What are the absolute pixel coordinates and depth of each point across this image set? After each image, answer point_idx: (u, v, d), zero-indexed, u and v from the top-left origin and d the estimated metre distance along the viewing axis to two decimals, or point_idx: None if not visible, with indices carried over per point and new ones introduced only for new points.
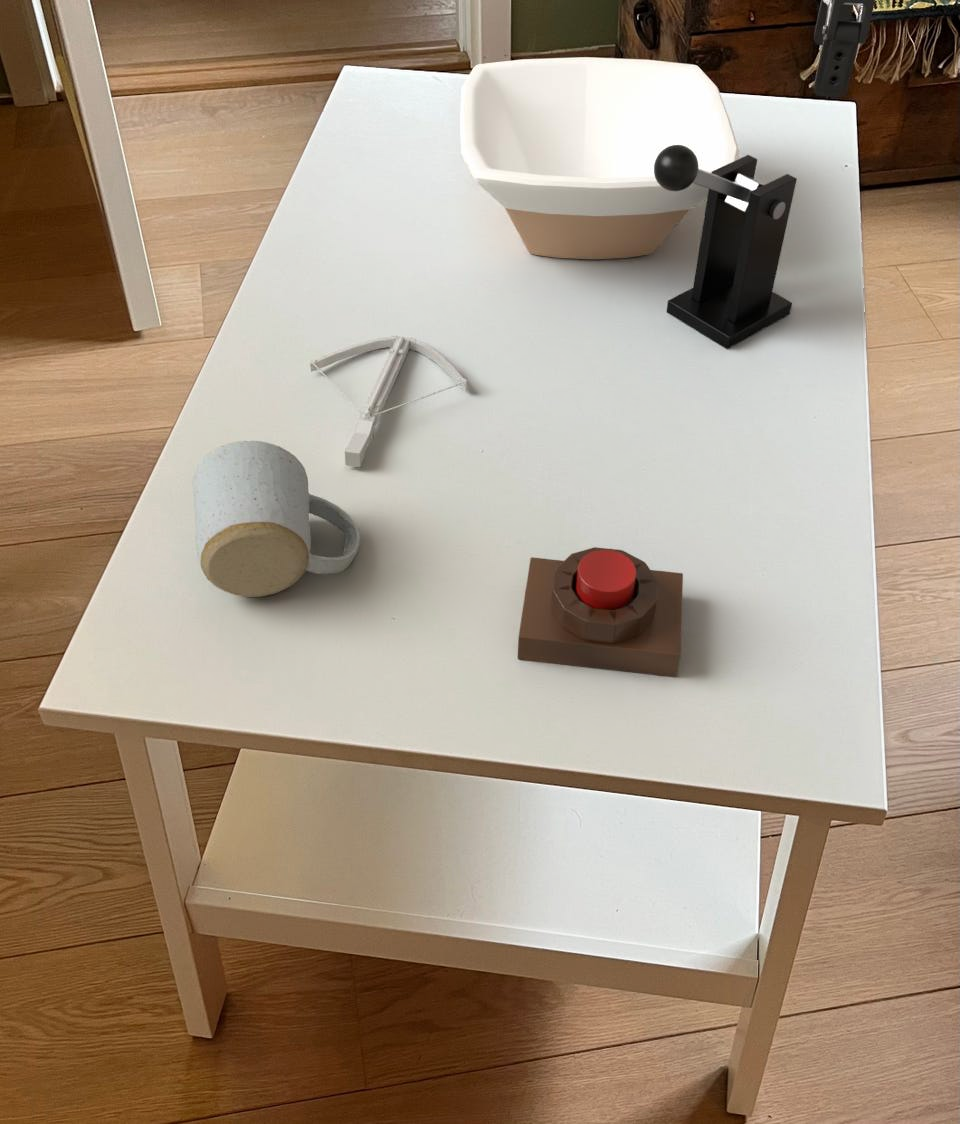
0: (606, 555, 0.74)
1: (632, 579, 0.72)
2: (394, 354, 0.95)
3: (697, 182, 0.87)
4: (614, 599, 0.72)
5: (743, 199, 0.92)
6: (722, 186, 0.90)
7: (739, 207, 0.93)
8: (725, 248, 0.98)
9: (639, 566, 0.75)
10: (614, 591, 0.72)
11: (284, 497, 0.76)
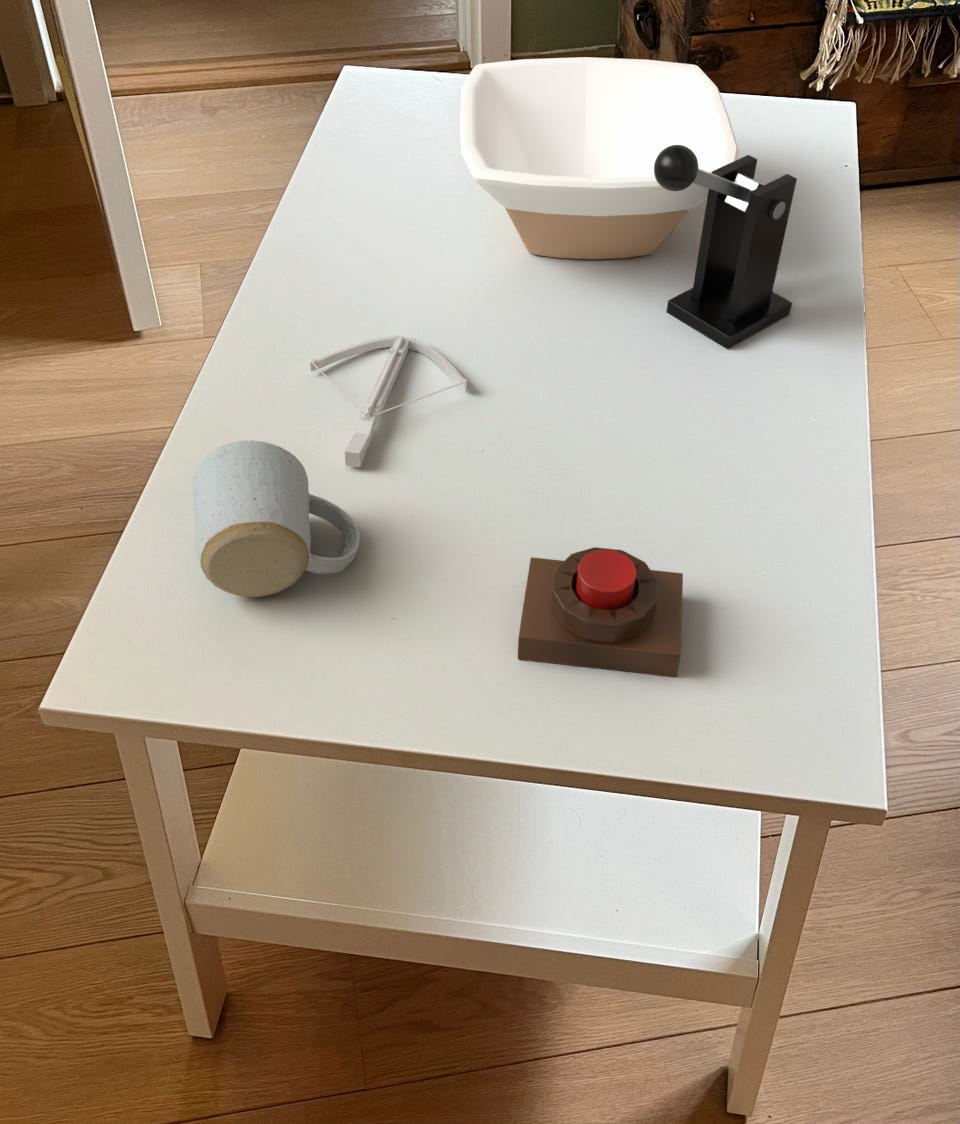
0: (606, 555, 0.74)
1: (632, 579, 0.72)
2: (394, 354, 0.95)
3: (697, 182, 0.87)
4: (614, 599, 0.72)
5: (743, 199, 0.92)
6: (722, 186, 0.90)
7: (739, 207, 0.93)
8: (725, 248, 0.98)
9: (639, 566, 0.75)
10: (614, 591, 0.72)
11: (284, 497, 0.76)
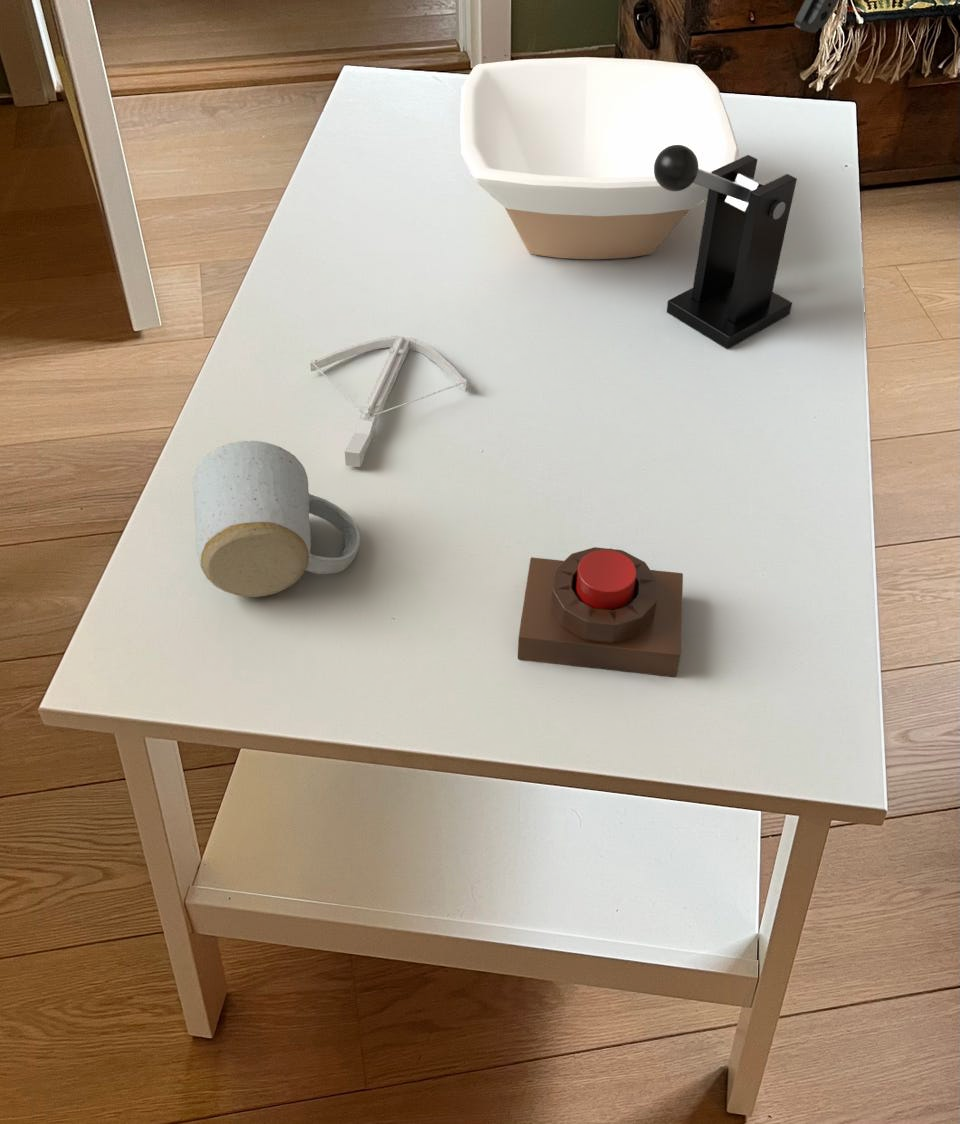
0: (606, 555, 0.74)
1: (632, 579, 0.72)
2: (394, 354, 0.95)
3: (697, 182, 0.87)
4: (614, 599, 0.72)
5: (743, 199, 0.92)
6: (722, 186, 0.90)
7: (739, 207, 0.93)
8: (725, 248, 0.98)
9: (639, 566, 0.75)
10: (614, 591, 0.72)
11: (284, 497, 0.76)
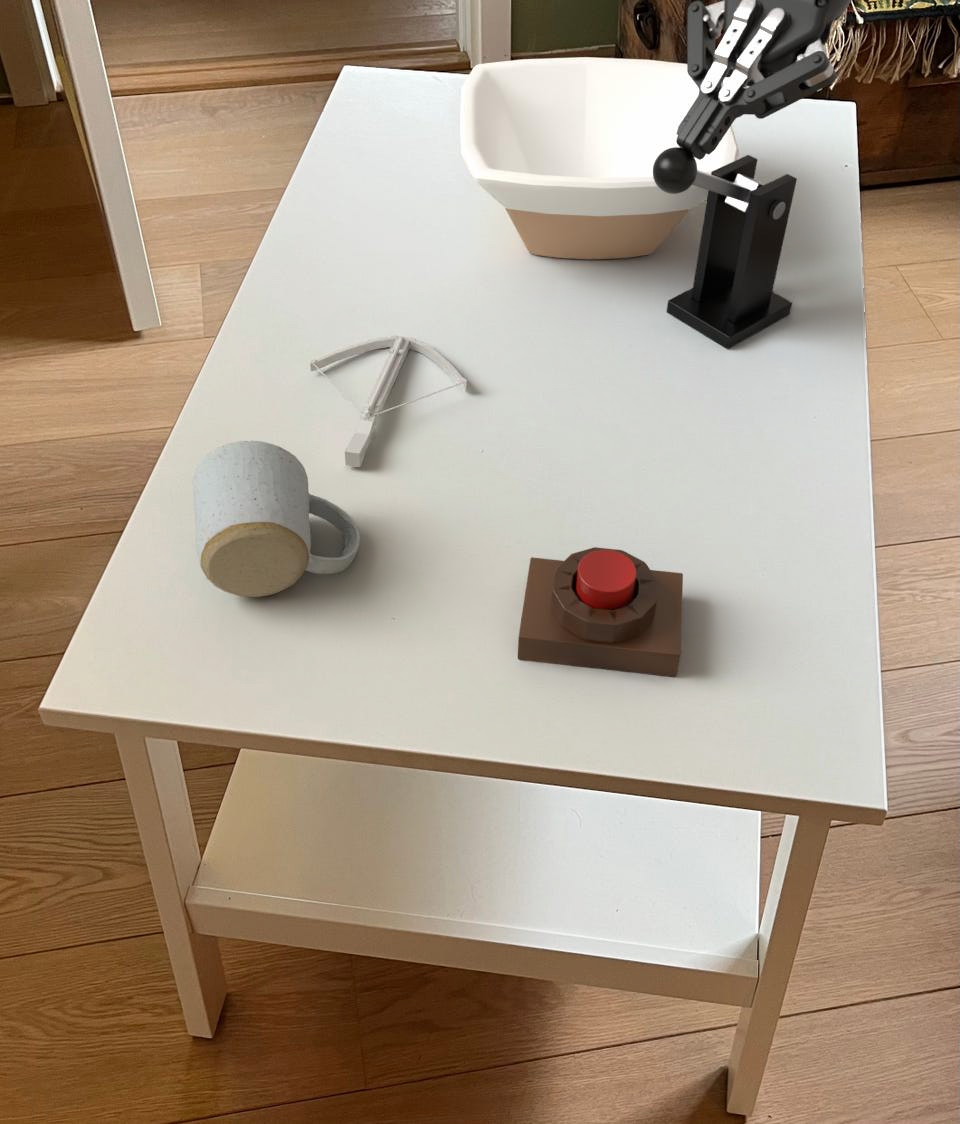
0: (606, 555, 0.74)
1: (632, 579, 0.72)
2: (394, 354, 0.95)
3: (696, 184, 0.87)
4: (614, 599, 0.72)
5: (743, 199, 0.92)
6: (721, 187, 0.90)
7: (739, 207, 0.93)
8: (725, 248, 0.98)
9: (639, 566, 0.75)
10: (614, 591, 0.72)
11: (284, 497, 0.76)
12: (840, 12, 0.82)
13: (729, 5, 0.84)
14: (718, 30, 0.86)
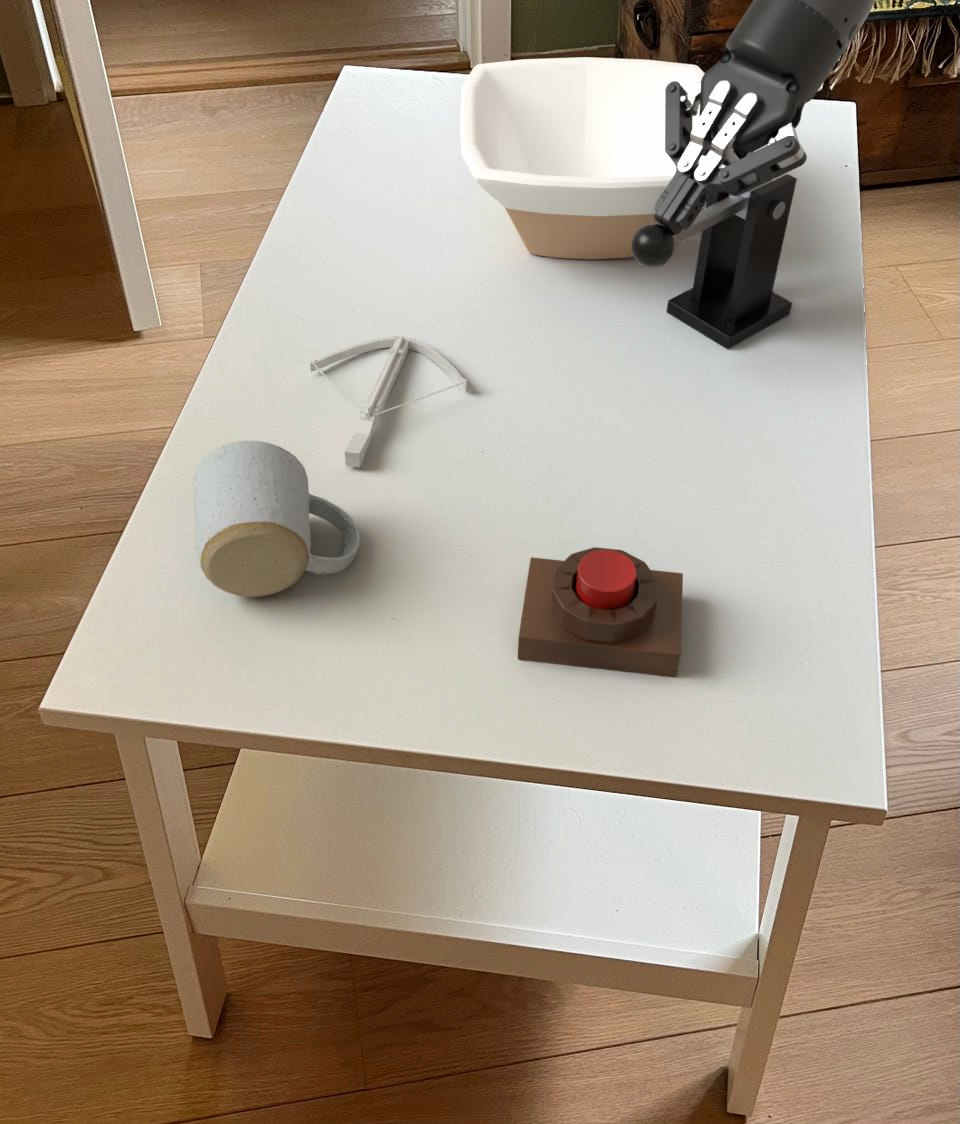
0: (606, 555, 0.74)
1: (632, 579, 0.72)
2: (394, 354, 0.95)
3: (680, 241, 0.90)
4: (614, 599, 0.72)
5: (741, 209, 0.93)
6: (711, 221, 0.91)
7: (740, 216, 0.94)
8: (725, 248, 0.98)
9: (639, 566, 0.75)
10: (614, 591, 0.72)
11: (284, 497, 0.76)
12: (811, 96, 0.85)
13: (705, 87, 0.88)
14: (695, 109, 0.89)
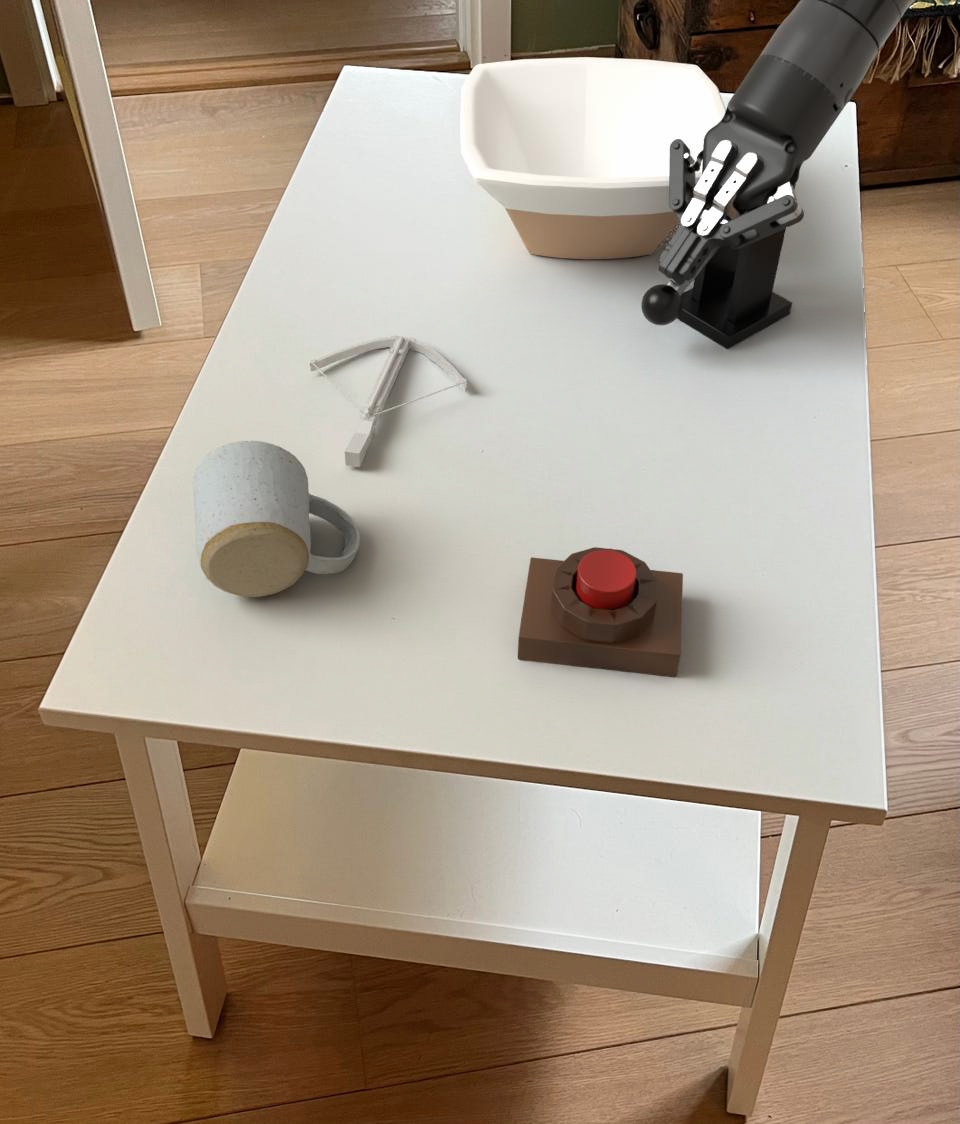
0: (606, 555, 0.74)
1: (632, 579, 0.72)
2: (394, 354, 0.95)
3: (688, 285, 0.94)
4: (614, 599, 0.72)
5: None
6: (713, 250, 0.94)
7: None
8: (725, 248, 0.98)
9: (639, 566, 0.75)
10: (614, 591, 0.72)
11: (284, 497, 0.76)
12: (808, 156, 0.89)
13: (707, 145, 0.92)
14: (697, 166, 0.93)
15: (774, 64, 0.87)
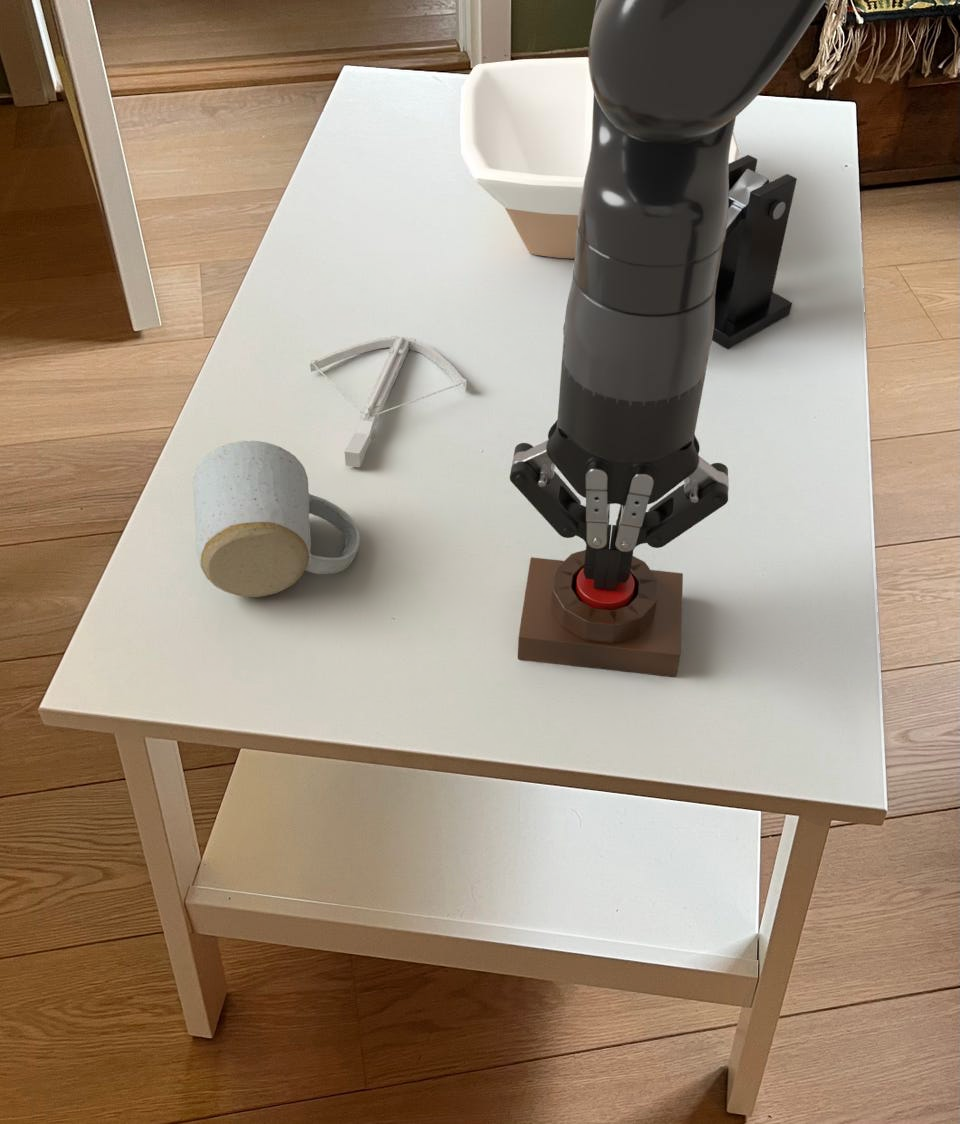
0: None
1: (630, 590, 0.73)
2: (394, 354, 0.95)
3: None
4: None
5: (744, 216, 0.94)
6: None
7: None
8: (725, 248, 0.98)
9: (639, 566, 0.75)
10: (612, 602, 0.72)
11: (284, 497, 0.76)
12: None
13: (562, 466, 0.66)
14: (554, 470, 0.68)
15: (620, 408, 0.59)
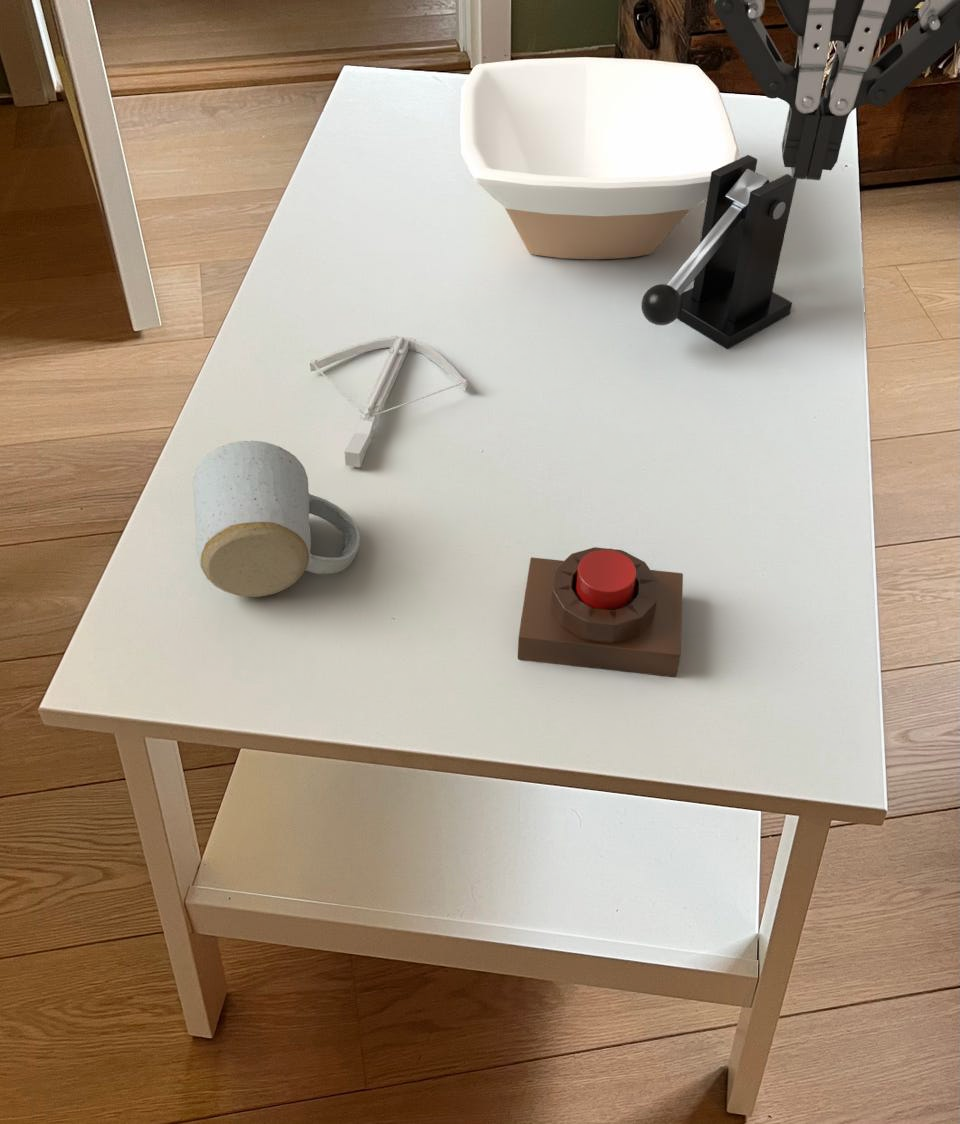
0: (606, 555, 0.74)
1: (632, 579, 0.72)
2: (394, 354, 0.95)
3: (688, 285, 0.94)
4: (614, 599, 0.72)
5: (744, 216, 0.94)
6: (713, 250, 0.94)
7: None
8: (725, 248, 0.98)
9: (639, 566, 0.75)
10: (614, 591, 0.72)
11: (284, 497, 0.76)
12: None
13: None
14: None
15: None
